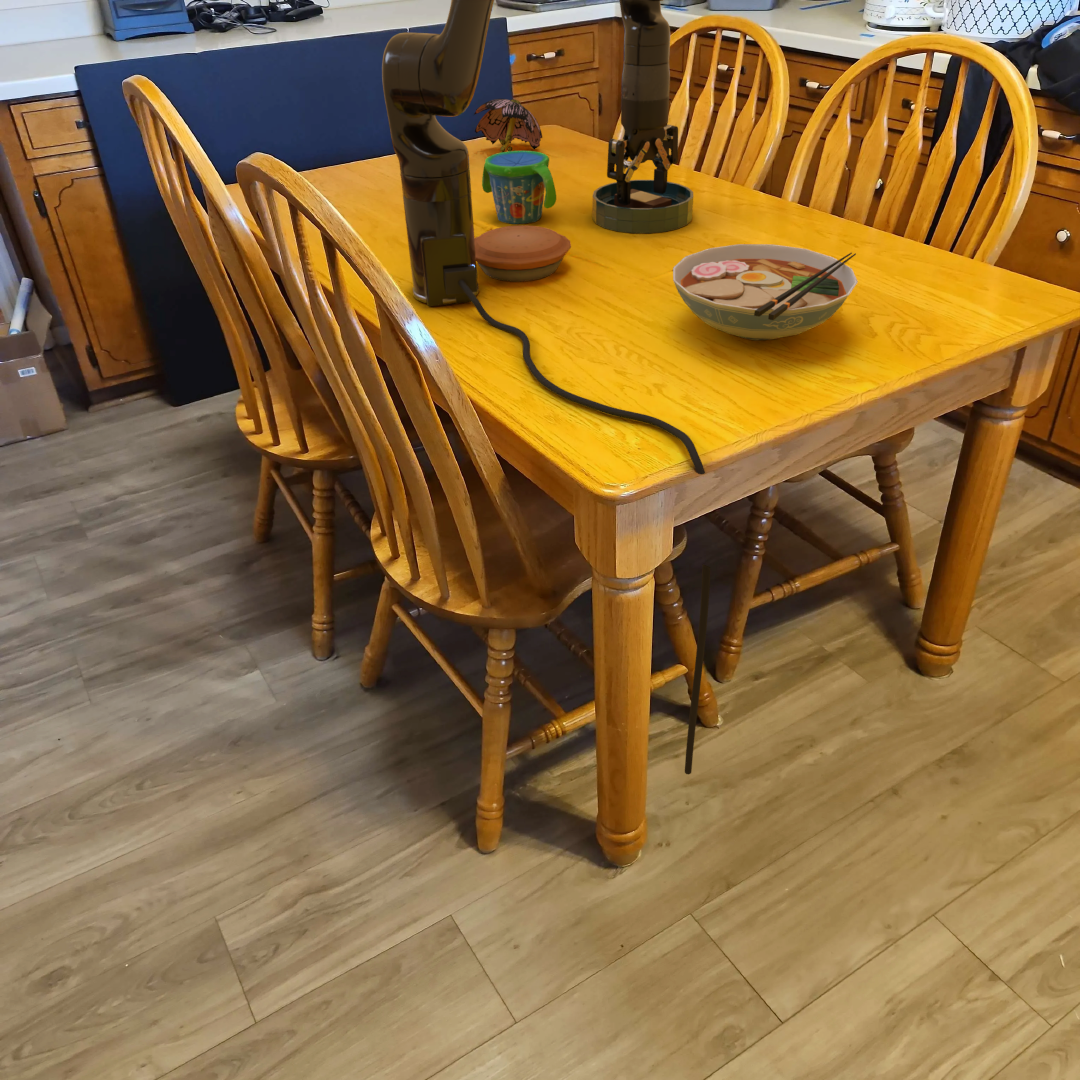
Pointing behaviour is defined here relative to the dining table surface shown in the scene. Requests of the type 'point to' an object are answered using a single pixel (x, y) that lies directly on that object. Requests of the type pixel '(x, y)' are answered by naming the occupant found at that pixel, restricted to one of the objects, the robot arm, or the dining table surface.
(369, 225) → the dining table surface
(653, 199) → the oat bar
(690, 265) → the ramen bowl
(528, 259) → the pie
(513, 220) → the snack cup
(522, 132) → the decorative flower
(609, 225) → the snack bowl
